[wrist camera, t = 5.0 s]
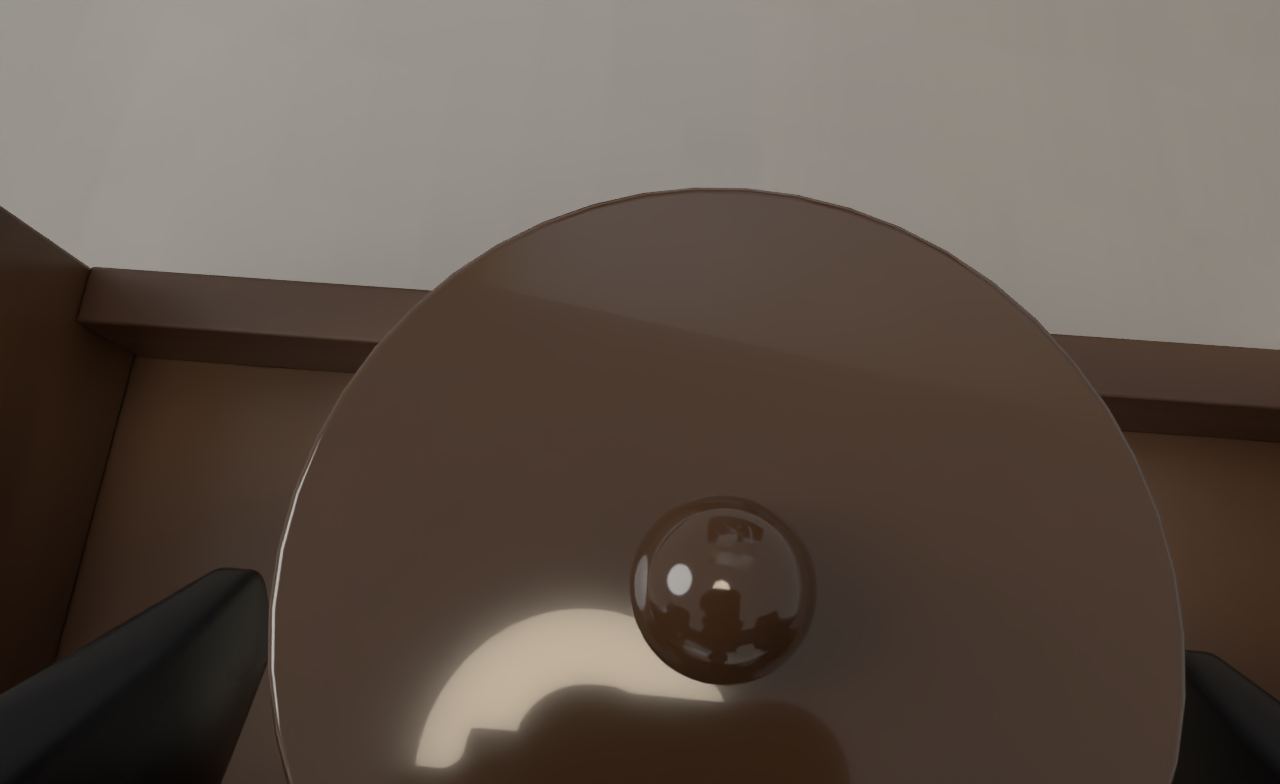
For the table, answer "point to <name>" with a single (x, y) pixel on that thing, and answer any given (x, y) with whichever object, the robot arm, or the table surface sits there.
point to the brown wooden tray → (326, 362)
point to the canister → (723, 524)
